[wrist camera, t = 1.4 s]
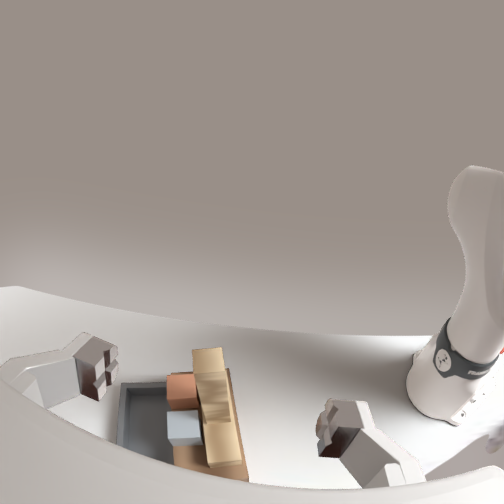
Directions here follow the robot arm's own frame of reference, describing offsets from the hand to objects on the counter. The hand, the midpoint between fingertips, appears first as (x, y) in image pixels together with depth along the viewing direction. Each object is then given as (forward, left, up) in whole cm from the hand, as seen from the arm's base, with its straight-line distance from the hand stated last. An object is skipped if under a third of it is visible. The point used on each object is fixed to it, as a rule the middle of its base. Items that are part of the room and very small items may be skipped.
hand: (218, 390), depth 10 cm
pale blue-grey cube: (+5, -10, -28) cm, 31 cm away
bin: (+12, -13, -34) cm, 39 cm away
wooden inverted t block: (+1, -12, -28) cm, 31 cm away
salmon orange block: (+5, -16, -28) cm, 33 cm away
